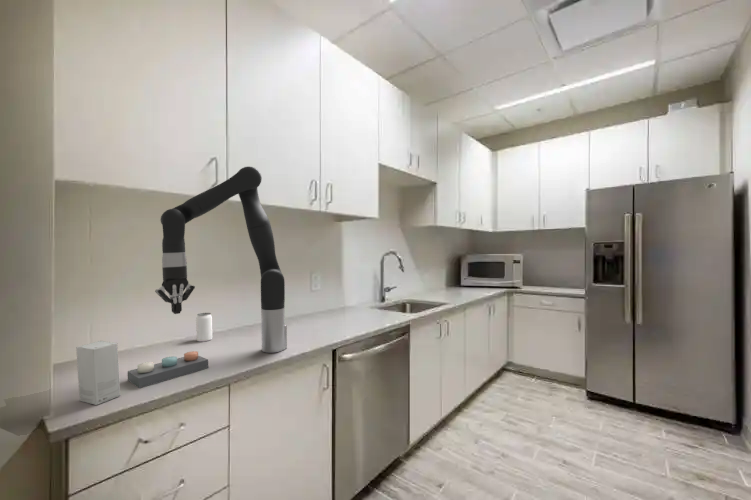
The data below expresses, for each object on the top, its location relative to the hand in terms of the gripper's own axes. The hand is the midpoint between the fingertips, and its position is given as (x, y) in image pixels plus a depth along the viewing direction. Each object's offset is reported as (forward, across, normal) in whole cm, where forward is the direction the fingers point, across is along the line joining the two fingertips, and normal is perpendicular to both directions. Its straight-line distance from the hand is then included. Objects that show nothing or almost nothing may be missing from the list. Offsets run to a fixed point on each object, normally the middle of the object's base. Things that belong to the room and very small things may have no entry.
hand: (176, 313), depth 121 cm
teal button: (+16, +5, +6) cm, 18 cm away
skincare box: (+19, +26, +9) cm, 33 cm away
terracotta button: (+16, -2, +6) cm, 17 cm away
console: (+19, +5, +6) cm, 20 cm away
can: (+19, -23, -26) cm, 39 cm away
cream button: (+16, +12, +5) cm, 21 cm away
